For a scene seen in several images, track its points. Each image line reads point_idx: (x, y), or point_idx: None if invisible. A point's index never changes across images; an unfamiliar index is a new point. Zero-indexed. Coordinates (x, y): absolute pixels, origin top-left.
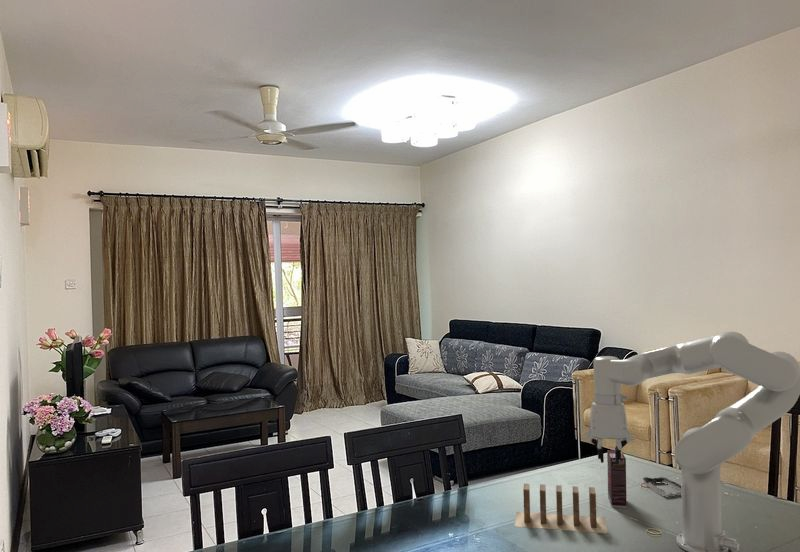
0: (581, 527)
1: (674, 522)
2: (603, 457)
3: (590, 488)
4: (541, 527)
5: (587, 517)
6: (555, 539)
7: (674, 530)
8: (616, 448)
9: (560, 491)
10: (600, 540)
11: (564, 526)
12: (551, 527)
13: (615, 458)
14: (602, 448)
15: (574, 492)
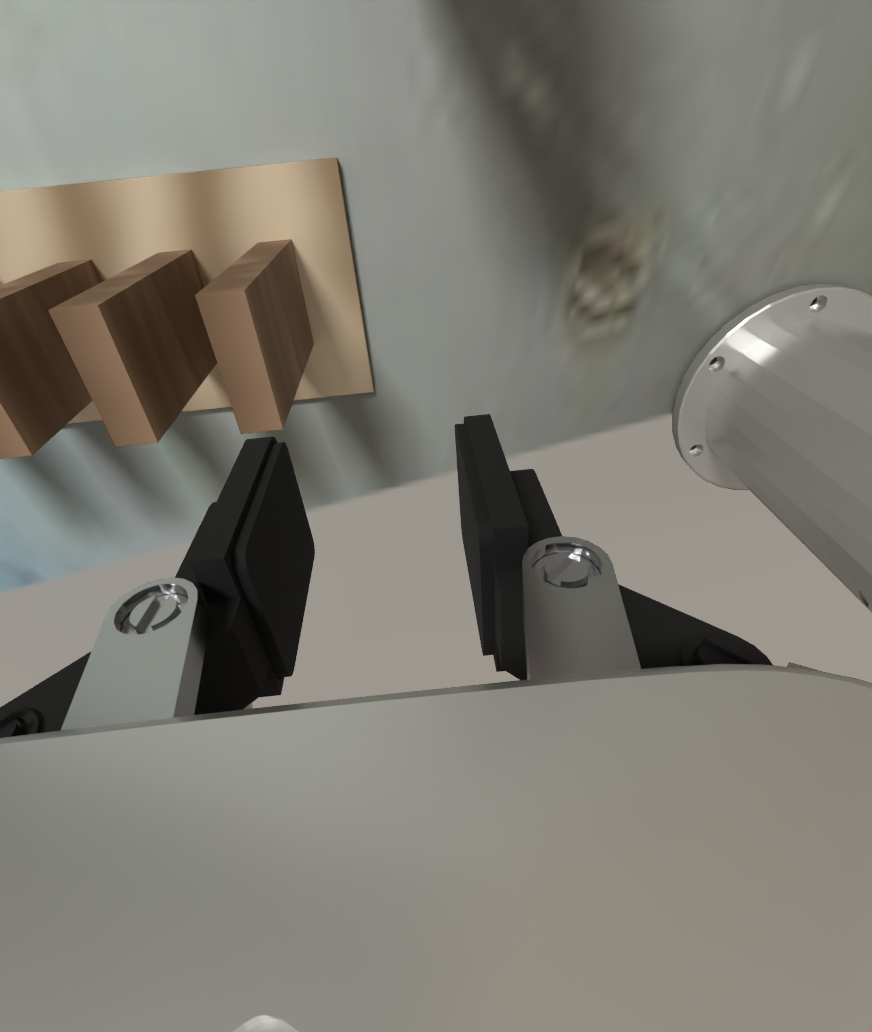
0: None
1: (778, 86)
2: (306, 597)
3: (216, 327)
4: None
5: (231, 192)
6: (161, 498)
7: (724, 234)
8: (500, 651)
9: (21, 456)
10: (348, 456)
11: None
12: (91, 402)
13: (460, 482)
14: (262, 631)
15: (126, 445)
